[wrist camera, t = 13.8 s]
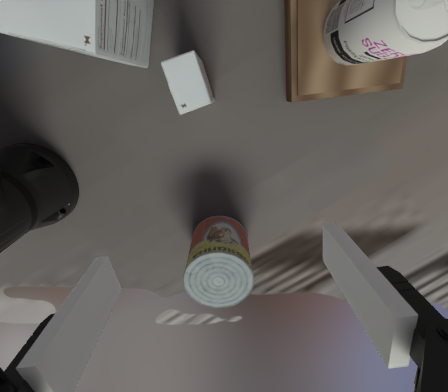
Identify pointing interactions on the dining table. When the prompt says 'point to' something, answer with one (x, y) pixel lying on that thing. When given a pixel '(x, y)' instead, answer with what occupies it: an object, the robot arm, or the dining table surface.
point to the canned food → (219, 263)
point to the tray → (328, 59)
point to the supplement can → (384, 29)
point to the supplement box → (84, 26)
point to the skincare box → (188, 81)
